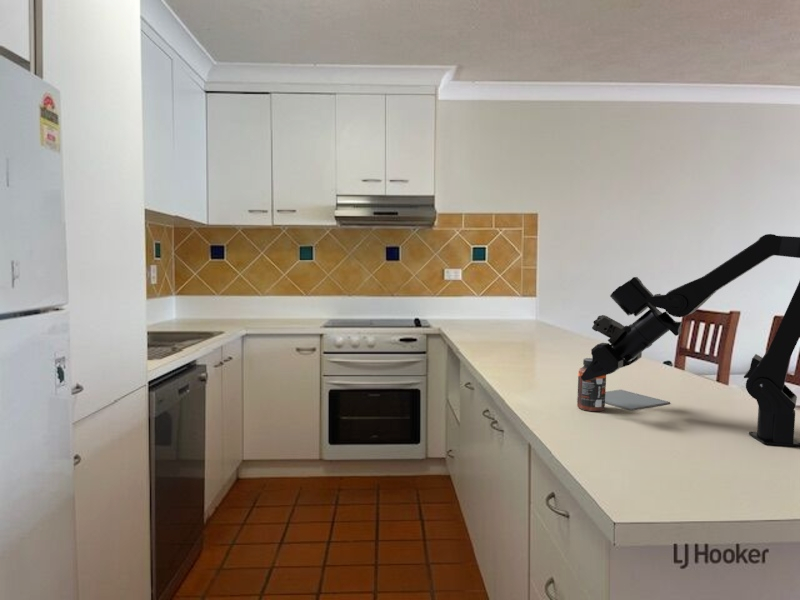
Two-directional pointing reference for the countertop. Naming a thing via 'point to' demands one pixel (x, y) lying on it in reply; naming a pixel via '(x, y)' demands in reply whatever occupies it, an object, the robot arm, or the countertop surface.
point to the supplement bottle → (591, 390)
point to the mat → (631, 400)
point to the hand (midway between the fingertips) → (589, 375)
